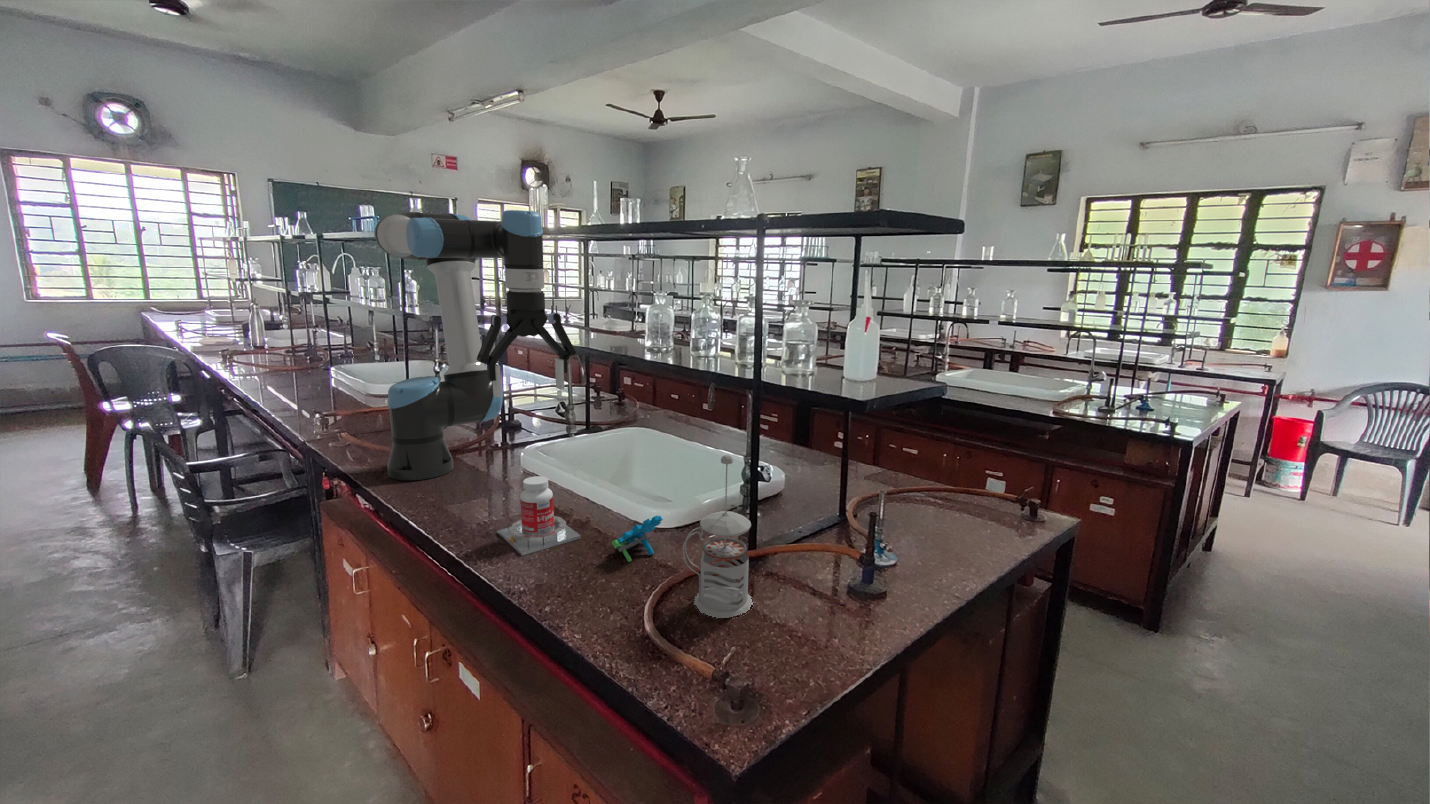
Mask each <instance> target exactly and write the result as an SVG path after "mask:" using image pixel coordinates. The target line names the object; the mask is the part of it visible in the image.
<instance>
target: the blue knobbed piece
mask: <svg viewBox="0 0 1430 804" xmlns="http://www.w3.org/2000/svg"><path fill="white" fill-rule="evenodd" d="M663 520H664V519H663V517H662V515H655V516H653V517H651V519H650V518H647V519H645V520H643V521H642V524H640V525H639V524H635V525H634V526H633V527H631V530H629V531H626V532H624V533H623V534H622V535H621V537H619V538H617V539H614V540H612V542H611V544H612V546H613V547H614V549H615V550H616V549H618V552H619V553H623V555H624V557H625V559H626V561H627V562H628V563H630V562H632V561H633V559H632V558H631V555H630V554H629V552H628V551H627V550H628V549H631V548H632V547H634V546H636V545H638V544H640V543H642V545H643V547H644V548H645V550H646V552H647V554H648V556H652V555H654V554H655V552H654V550H653V548H652V546H651V544H650V543H649V541H648V535H646V534H648V533H650V532H652V531H654V530H655V528H656V527H657V526H659V525H661V523H662V521H663Z"/></svg>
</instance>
